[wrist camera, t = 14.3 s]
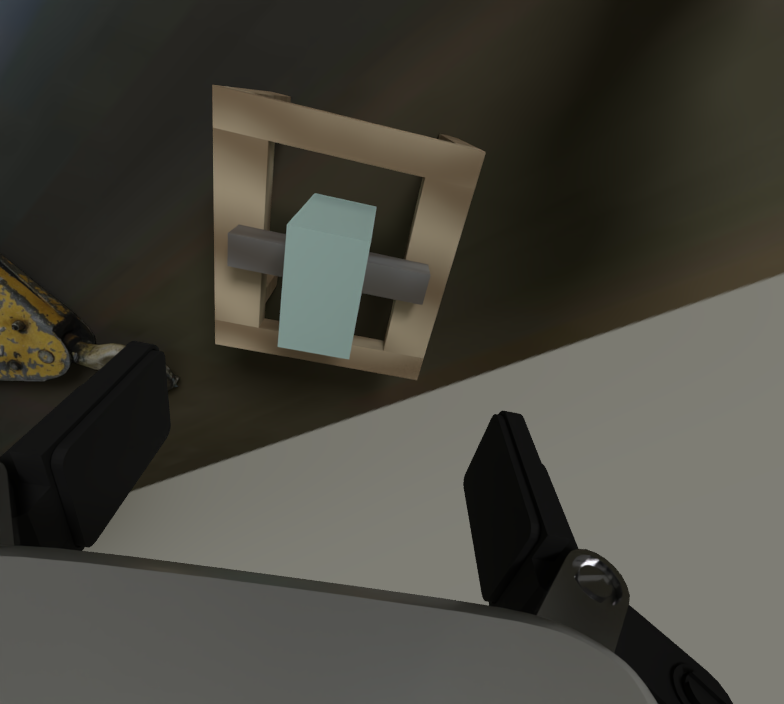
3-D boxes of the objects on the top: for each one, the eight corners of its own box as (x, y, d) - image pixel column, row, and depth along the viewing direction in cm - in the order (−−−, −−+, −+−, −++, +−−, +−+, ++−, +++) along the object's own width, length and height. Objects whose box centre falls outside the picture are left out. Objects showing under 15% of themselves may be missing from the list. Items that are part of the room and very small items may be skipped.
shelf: (271, 91, 31) (196, 82, 19) (456, 138, 33) (493, 155, 21) (261, 282, 40) (204, 358, 28) (410, 311, 41) (418, 396, 29)
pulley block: (146, 454, 43) (-200, 349, 36) (170, 424, 48) (-128, 327, 42) (180, 340, 38) (-210, 197, 32) (203, 321, 44) (-127, 194, 37)
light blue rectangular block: (314, 193, 26) (286, 224, 19) (376, 206, 26) (370, 242, 19) (304, 290, 29) (277, 346, 22) (359, 301, 30) (349, 359, 23)
